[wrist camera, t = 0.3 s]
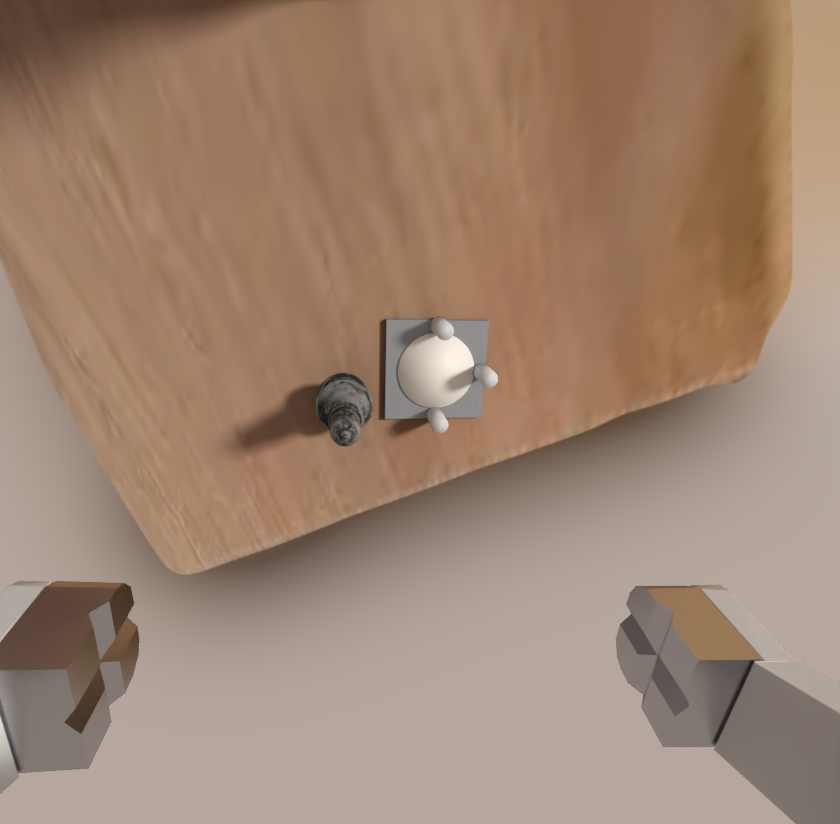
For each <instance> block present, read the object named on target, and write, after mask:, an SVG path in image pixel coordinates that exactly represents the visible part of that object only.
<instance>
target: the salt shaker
mask: <svg viewBox="0 0 840 824" xmlns="http://www.w3.org/2000/svg"><path fill="white" fill-rule="evenodd" d="M372 411H373V402H372V399H371V396H370V394H369V392H368V391H367V389H366V386H365V385H364V383H363V382H362V381H361V380H360V379H359V378H358V377H356V376H354V375H352V374H347V373H339V374H335V375H333V376H331V377H329V378H328V379H327V380H326V381H325V382H324V383H323V384H322V386H321V388H320V392H319V394H318V396H317V398H316V402H315V412H316V415H317V418H318V420H319V421H320V422H321V424H322V425H323V426H324V427H326V428H327V429H328V430H329V431H330V435H331V438H332V439H333V441H334V442H335V443H336V444H338V445H340V446H350V445H352V444H354V443H355V442H356V441H357V440H358V439H359V437H360V434H361V428H362V427H363V426H364V425H365V424H367V422H368V421H369V419H370V417H371V415H372Z"/></svg>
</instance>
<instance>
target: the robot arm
mask: <svg viewBox="0 0 840 824" xmlns="http://www.w3.org/2000/svg"><path fill="white" fill-rule="evenodd" d="M133 605H134V600H133V596H132V590H131V586H129V585H127V584H125V583H100V582H66V581H65V582H64V581H55V582H41V581H18V582H16V583H13V584H11V585H9V586H7V587H6V588H5V589H4V590H3V591H2V593H1V594H0V794H1V793H2V792H3V791H4V790H5V789H6V788H7V787H8V786H9V785H10V784H12V783H13V782H14V781H15V780H16V779H17V778H18V776H19V775H18V773H26V772H42V771H56V770H72V769H87V768H89V766H90V764H91V762H92V760H93V758H94V756H95V754H96V752H97V750H98V748H99V746H100V744H101V742H102V740H103V738H104V736H105V734H106V731H107V730H108V727H109V725H110V723H111V717H110V711H109V705H110V704H112V703H113V702H114V701H116V700H117V699H118V698H119V697H121V696H122V695H123V694H124V693H125V692H126V690H127V688H128V685H129V683H130V681H131V679H132V676H133V674H134V670H135V666H136V661H137V658H138V653H139V633H138V627H137V625H135V624H134V623H133V622H132V621H131V620H130V619H128V617H127V616H128V614H129V612H130V611H131V609H132V607H133ZM626 605H627V606H628V608H629V610H630V612H631V615H630V616H629V617H628V618H626V619H625V620H624V621H623V622H622V623H621V624H620V626H619V630H618V634H617V638H616V648H617V658H618V661H619V664H620V667H621V670H622V672H623V674H624V676H625V678H626V680H627V682H628V683H629V684H630V685H631V686H633V687H634V688H635V689H637V690H638V691H639V692H640V693H642V694H643V701H642V709H643V711H644V713H645V715H646V717H647V719H648V720H649V722H650V724H651V726H652V728H653V729H654V731H655V733H656V735H657V737H658V738H659V740H660V742H661V744H662V746H663V747H715V748H714V750H715V751H716V752H717V753H718V754H719V755H721V756H722V757H723V758H724V759H725V760H726V761H727V762H728V763H729V764H730V765H732V766H733V767H734V768H735V769H736V770H737V771H738V772H739V773H740V774H741V775H743V776H744V777H745V778H746V779H747V780H748V781H749V782H750V783H751V784H752V785H754V786H755V787H756V788H757V789H758V790H759V791H760V792H761V793H763V794H764V795H765V796H766V797H767V798H768V799H769V800H770V801H771V802H772V803H773V804H775V805H776V806H777V807H778V808H779V809H780V810H781V811H783V813H785V814H786V815H787V816H788V817H789V818H790V819H791V820H792V821H793V822H794V823H796V824H840V681H838V680H836V679H835V678H833V677H831V676H829V675H827V674H826V673H824V672H822V671H821V670H819V669H817V668H815V667H814V666H812V665H810V664H808V663H806V662H805V661H794V660H793V659H792V658H791V657H790V655H789V654H788V653H787V652H786V651H785V650H784V649H783V648H782V647H781V646H780V645H779V644H778V643H777V642H776V640H775V639H774V638H773V637H772V636H771V635H770V634H769V633H768V632H767V631H766V630H765V629H764V627H763V626H762V625H761V624H760V623H759V622H758V621H757V620H756V619H755V618H754V617H753V616H752V615H751V614H750V612H749V611H748V610H747V609H746V608H745V607H744V606H743V605H742V604H741V603H740V602H739V601H738V600H737V598H735V596H734V595H733V594H732V593H731V592H730V591H729V590H728V589H726V588H724V587H722V586H720V585H692V586H636V587H635V588H634V589H633V590H632V591H631V592H630V595H629V598H628V601H627V604H626Z"/></svg>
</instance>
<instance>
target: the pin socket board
mask: <svg viewBox="0 0 840 824" xmlns="http://www.w3.org/2000/svg"><path fill="white" fill-rule="evenodd" d="M488 330H489V320H448V319H444V318H443V317H435V318H433V319H386V356H385V419H424V418H427V419H428V421H429V423H430V425H431V427H432V429H433V431H434V432H436V433H443V432H445V431H446V430H447V428H448V421H447V420H446V418H475V417H481V415H482V402H483V390H484V387H486V388H491V387H494V386H495V385H496V384H497V382H498V376H497V374H496V373H495V372H494V371H493V370H492V369H490V368H489V367H488V366H487V365H486V354H487V342H488Z"/></svg>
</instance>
